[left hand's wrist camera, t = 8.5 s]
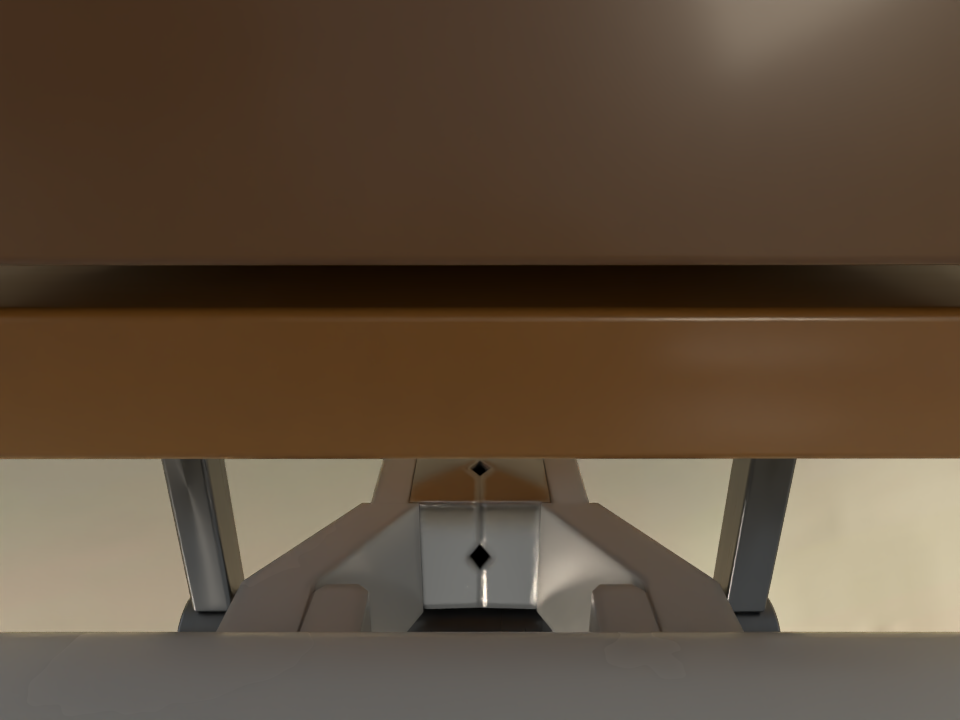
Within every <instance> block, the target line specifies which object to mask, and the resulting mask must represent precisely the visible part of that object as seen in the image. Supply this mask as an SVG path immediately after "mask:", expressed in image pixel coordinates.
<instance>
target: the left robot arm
mask: <svg viewBox="0 0 960 720" xmlns="http://www.w3.org/2000/svg"><path fill="white" fill-rule="evenodd" d="M478 607H480V608H516V609H537V612H538V614H539V615H540V616H541V617H542V618H543V620H544V621H545V622H546V623H547V625H548V626H549V627H550V628H551V629H552V631H553V632H407V631H408V630H409V629H410V628H411V626H412V625H413V624H414V623H415V621H416V620H417V619H418V618H419V617H420V615H421V614H422V613H423V609H443V608H478ZM0 720H960V632H744V631H743V629H742V627H741V625H740V623H739V621H738V619H737V617H736V615H735V613H734V611H733V609H732V607H731V605H730V603H729V601H728V599H727V598H726V596H725V594H724V592H723V590H722V588H721V586H720V584H719V582H717V581H716V580H714V579H713V578H711V577H710V576H708V575H707V574H705V573H703V572H702V571H700V570H699V569H697V568H696V567H694V566H693V565H691V564H690V563H688V562H687V561H685V560H684V559H682V558H681V557H679V556H678V555H676V554H675V553H673V552H672V551H670V550H668V549H667V548H665V547H664V546H662V545H661V544H659V543H658V542H656V541H655V540H653V539H652V538H650V537H649V536H647V535H646V534H644V533H643V532H641V531H640V530H638V529H637V528H635V527H634V526H632V525H630V524H629V523H627V522H626V521H624V520H623V519H621V518H620V517H618V516H617V515H615V514H614V513H612V512H611V511H609V510H608V509H606V508H605V507H603V506H602V505H600V504H599V503H589V501H588V497H587V494H586V490H585V487H584V484H583V480H582V477H581V473H580V470H579V466H578V463H577V459H383V462H382V466H381V469H380V473H379V476H378V480H377V483H376V487H375V490H374V494H373V497H372V501H371V503H361V504H360V505H358V506H357V507H355V508H354V509H352V510H351V511H349V512H348V513H346V514H345V515H343V516H342V517H340V518H339V519H337V520H336V521H334V522H332V523H331V524H329V525H328V526H326V527H325V528H323V529H322V530H320V531H319V532H317V533H316V534H314V535H313V536H311V537H310V538H308V539H306V540H305V541H303V542H302V543H300V544H299V545H297V546H296V547H294V548H293V549H291V550H290V551H288V552H287V553H285V554H284V555H282V556H280V557H279V558H277V559H276V560H274V561H273V562H271V563H270V564H268V565H267V566H265V567H264V568H262V569H261V570H259V571H258V572H256V573H255V574H253V575H251V576H250V577H248V578H247V579H245V580H244V581H242V583H241V585H240V586H239V588H238V590H237V592H236V594H235V596H234V598H233V600H232V602H231V604H230V606H229V608H228V610H227V612H226V613H225V615H224V617H223V619H222V621H221V623H220V625H219V627H218V629H217V631H216V632H0Z"/></svg>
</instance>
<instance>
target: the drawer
mask: <svg viewBox="0 0 960 720" xmlns="http://www.w3.org/2000/svg"><path fill="white" fill-rule="evenodd" d="M797 458H960V265H79V266H0V459H162V464H163V469H164V474H165V478H166V483H167V488H168V493H169V497H170V502H171V507H172V512H173V516H174V521H175V526H176V531H177V535H178V540H179V545H180V550H181V555H182V559H183V564H184V569H185V574H186V578H187V583H188V588H189V593H190V599H189V600H188V602H187V604H186V606H185V608H184V610H183V613H182V616H181V619H180V623H179V627H178V632H216V631H217V629H218V627H219V625H220V623H221V621H222V619H223V617H224V615H225V613H226V612H227V610H228V608H229V606H230V604H231V602H232V600H233V598H234V596H235V594H236V592H237V590H238V588H239V586H240V585H241V583H242V581H244V574H243V568H242V562H241V557H240V551H239V545H238V539H237V533H236V527H235V521H234V515H233V509H232V503H231V497H230V491H229V486H228V480H227V474H226V468H225V462H224V459H733V463H732V469H731V475H730V481H729V487H728V493H727V499H726V505H725V511H724V517H723V523H722V529H721V535H720V541H719V547H718V553H717V559H716V565H715V571H714V577H713V579H714V580H716V581H717V582H719V584H720V586H721V588H722V590H723V592H724V594H725V596H726V598H727V599H728V601H729V603H730V605H731V607H732V609H733V611H734V613H735V615H736V617H737V619H738V621H739V623H740V625H741V627H742V629H743V631H744V632H780V627H779V623H778V619H777V616H776V613H775V610H774V608H773V606H772V604H771V602H770V600H769V598H768V594H769V589H770V584H771V579H772V574H773V570H774V565H775V560H776V555H777V550H778V546H779V541H780V536H781V531H782V526H783V521H784V517H785V512H786V507H787V502H788V497H789V493H790V488H791V483H792V478H793V473H794V468H795V464H796V459H797ZM407 632H553V631H552V629H551V628H550V627H549V626H548V625H547V623H546V622H545V621H544V620H543V618H542V617H541V616H540V615H539V614H538V612H537V609H516V608H480V607H478V608H443V609H423V613H422V614H421V615H420V617H419V618H418V619H417V620H416V621H415V623H414V624H413V625H412V626H411V628H410V629H409V630H408V631H407Z"/></svg>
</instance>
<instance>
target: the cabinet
mask: <svg viewBox="0 0 960 720" xmlns="http://www.w3.org/2000/svg"><path fill="white" fill-rule="evenodd" d="M79 265H960V0H0V266H79Z"/></svg>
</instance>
